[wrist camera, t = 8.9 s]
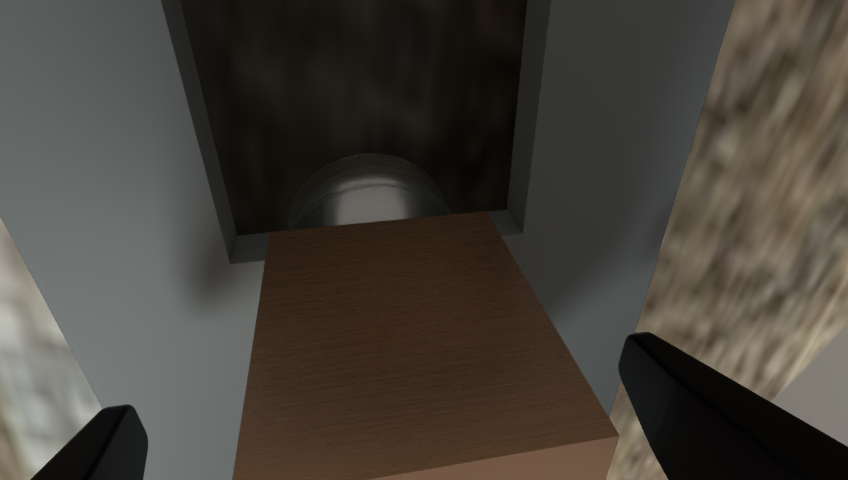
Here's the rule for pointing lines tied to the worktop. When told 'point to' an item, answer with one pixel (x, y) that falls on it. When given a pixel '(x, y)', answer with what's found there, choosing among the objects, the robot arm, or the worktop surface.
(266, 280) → the brown and silver block
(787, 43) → the worktop surface
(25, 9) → the keyhole plate
